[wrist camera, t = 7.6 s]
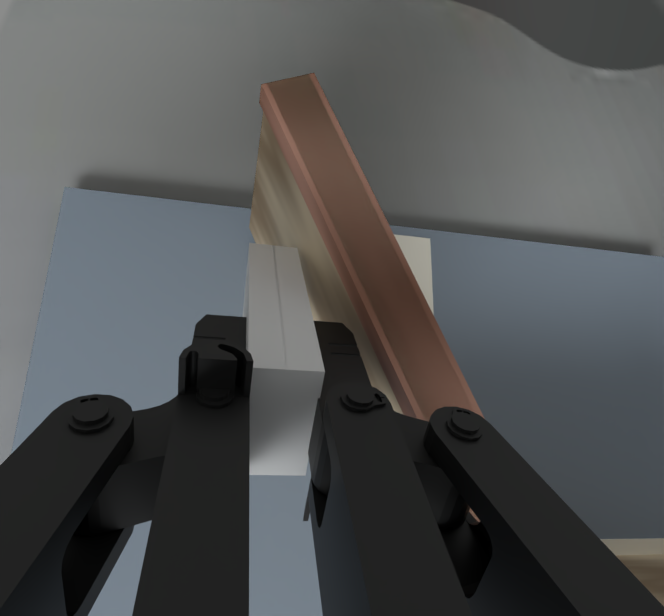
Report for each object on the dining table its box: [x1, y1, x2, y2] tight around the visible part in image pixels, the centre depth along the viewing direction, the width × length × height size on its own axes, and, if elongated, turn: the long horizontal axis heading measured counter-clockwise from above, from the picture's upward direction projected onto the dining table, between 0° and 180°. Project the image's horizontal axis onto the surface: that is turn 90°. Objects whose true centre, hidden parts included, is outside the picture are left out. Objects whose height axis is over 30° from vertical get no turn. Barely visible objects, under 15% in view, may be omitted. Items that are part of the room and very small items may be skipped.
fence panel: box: [249, 73, 485, 522], centre depth 16 cm, size 14×2×8 cm, turn 24°
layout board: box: [11, 187, 664, 616], centre depth 20 cm, size 29×23×1 cm
